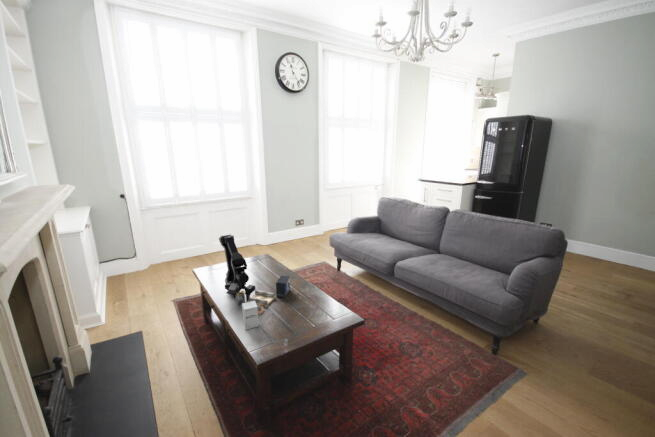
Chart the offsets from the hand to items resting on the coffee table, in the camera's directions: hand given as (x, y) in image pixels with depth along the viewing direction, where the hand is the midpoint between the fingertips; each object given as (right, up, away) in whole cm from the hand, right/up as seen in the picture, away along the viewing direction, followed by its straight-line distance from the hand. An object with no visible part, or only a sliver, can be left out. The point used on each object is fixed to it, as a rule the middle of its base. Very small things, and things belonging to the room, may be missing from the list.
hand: (241, 299), depth 187 cm
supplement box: (+11, -9, -20) cm, 25 cm away
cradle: (+12, -2, +4) cm, 13 cm away
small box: (+25, 0, +13) cm, 28 cm away
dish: (+12, -5, -8) cm, 15 cm away
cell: (0, -3, +1) cm, 3 cm away
